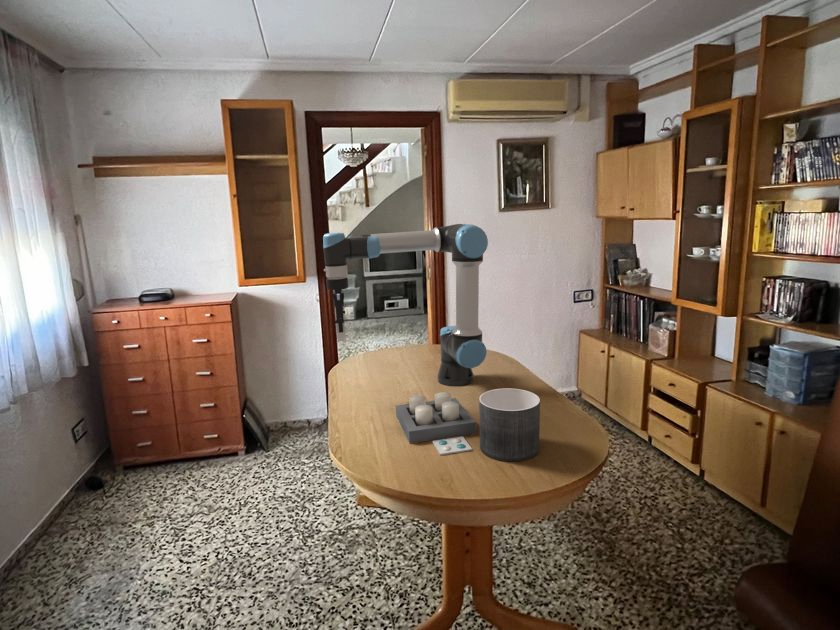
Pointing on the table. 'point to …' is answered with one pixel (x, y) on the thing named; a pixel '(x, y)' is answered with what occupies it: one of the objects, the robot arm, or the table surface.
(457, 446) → the card
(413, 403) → the button
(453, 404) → the button
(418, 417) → the button
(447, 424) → the board
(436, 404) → the button
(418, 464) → the table surface
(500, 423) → the planter
